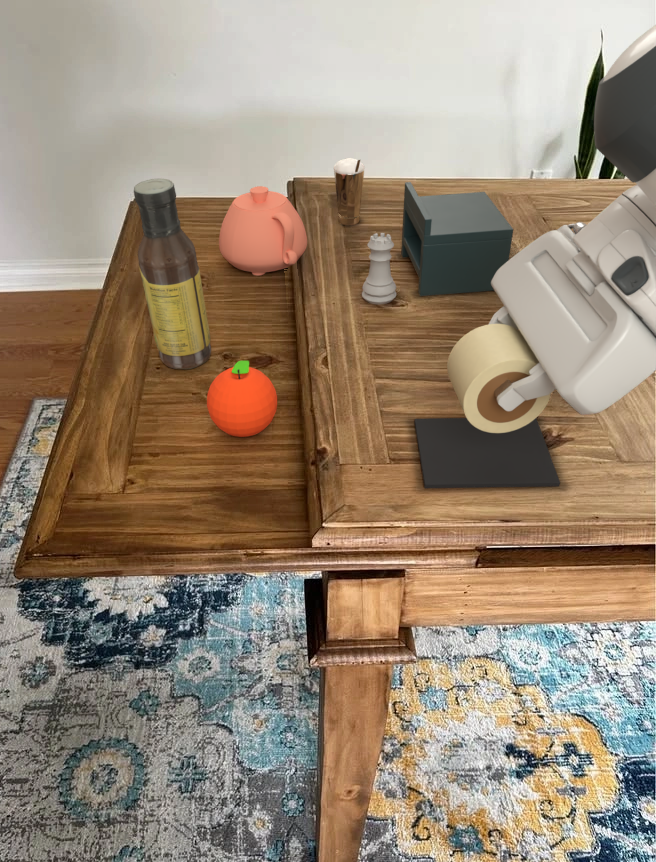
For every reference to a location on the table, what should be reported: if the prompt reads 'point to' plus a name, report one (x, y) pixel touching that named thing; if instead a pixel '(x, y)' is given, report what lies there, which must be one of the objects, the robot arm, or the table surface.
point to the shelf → (454, 241)
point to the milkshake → (349, 189)
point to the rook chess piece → (379, 271)
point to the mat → (482, 455)
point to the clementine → (242, 400)
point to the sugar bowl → (262, 232)
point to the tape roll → (492, 376)
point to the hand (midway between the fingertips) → (487, 379)
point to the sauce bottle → (171, 279)
